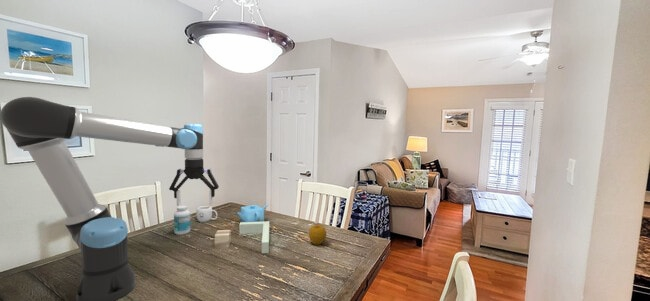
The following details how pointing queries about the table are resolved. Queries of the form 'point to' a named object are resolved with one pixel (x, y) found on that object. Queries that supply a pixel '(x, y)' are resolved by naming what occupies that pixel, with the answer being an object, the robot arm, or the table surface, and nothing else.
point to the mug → (205, 213)
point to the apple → (317, 234)
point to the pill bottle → (181, 220)
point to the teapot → (252, 213)
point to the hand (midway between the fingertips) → (195, 204)
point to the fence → (257, 228)
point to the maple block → (222, 238)
